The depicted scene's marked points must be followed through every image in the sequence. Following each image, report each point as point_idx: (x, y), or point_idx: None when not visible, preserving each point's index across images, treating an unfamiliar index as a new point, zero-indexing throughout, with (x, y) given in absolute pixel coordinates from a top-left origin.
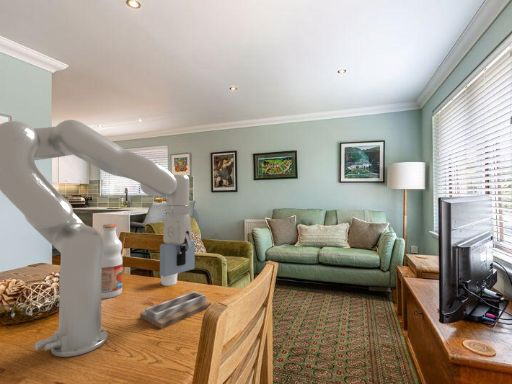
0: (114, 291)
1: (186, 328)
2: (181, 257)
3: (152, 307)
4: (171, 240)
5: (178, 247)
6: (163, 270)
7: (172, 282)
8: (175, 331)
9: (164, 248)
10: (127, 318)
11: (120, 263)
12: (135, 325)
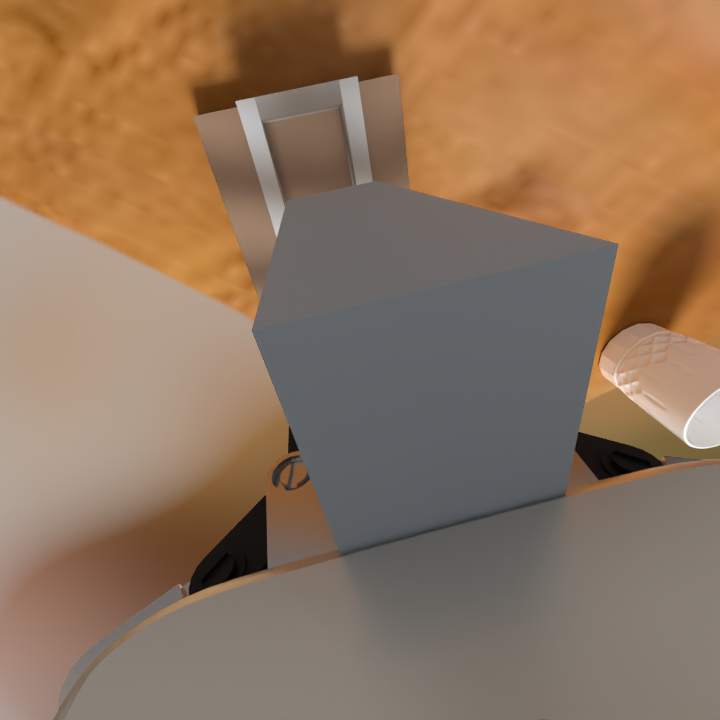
0: None
1: (146, 223)
2: (291, 441)
3: (349, 127)
4: (464, 632)
5: (310, 538)
6: (316, 199)
7: (608, 360)
8: (139, 167)
9: (307, 279)
10: (431, 7)
11: None
12: (317, 9)
